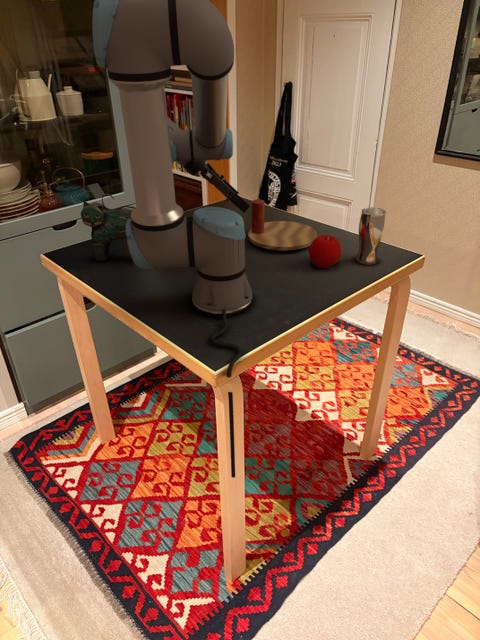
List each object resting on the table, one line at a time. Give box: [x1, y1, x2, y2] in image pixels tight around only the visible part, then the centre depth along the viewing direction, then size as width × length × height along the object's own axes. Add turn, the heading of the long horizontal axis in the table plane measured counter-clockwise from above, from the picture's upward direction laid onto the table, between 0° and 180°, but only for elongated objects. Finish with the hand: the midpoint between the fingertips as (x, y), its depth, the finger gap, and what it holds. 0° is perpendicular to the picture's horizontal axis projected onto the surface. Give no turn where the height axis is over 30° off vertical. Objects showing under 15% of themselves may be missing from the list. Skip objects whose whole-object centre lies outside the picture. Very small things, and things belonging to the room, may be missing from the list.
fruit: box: [308, 231, 342, 269], centre depth 132 cm, size 9×9×10 cm
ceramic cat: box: [80, 193, 136, 262], centre depth 135 cm, size 20×6×20 cm, turn 83°
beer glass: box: [355, 206, 387, 266], centre depth 133 cm, size 7×7×15 cm
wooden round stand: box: [247, 199, 318, 251], centre depth 147 cm, size 22×22×11 cm
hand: (241, 202), depth 144 cm, fingers open, 13 cm apart
